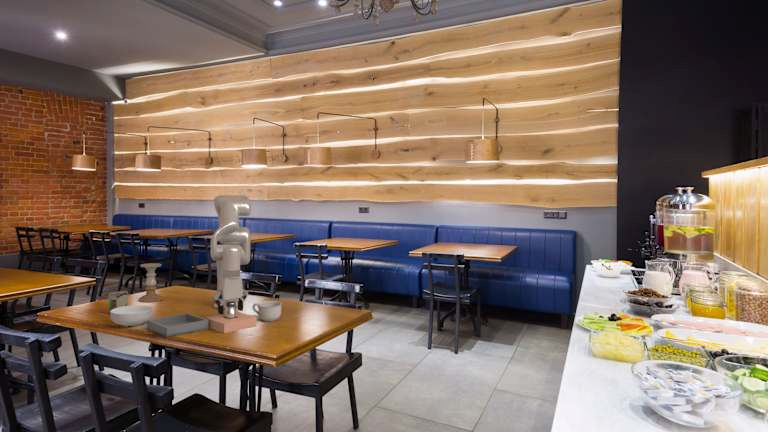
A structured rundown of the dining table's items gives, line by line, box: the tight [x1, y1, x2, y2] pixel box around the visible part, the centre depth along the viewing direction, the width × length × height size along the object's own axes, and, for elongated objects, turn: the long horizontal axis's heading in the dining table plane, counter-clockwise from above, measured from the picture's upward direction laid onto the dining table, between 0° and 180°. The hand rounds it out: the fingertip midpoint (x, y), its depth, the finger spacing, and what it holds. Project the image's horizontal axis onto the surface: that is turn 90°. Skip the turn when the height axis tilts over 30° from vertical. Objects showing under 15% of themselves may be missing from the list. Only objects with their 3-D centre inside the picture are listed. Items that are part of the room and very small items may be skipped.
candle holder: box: [138, 262, 164, 303], centre depth 251 cm, size 12×12×20 cm
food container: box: [107, 290, 129, 312], centre depth 220 cm, size 12×6×10 cm, turn 5°
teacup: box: [251, 300, 282, 322], centre depth 214 cm, size 14×11×8 cm
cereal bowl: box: [109, 304, 154, 328], centre depth 201 cm, size 17×17×7 cm
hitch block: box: [204, 310, 258, 334], centre depth 201 cm, size 16×16×4 cm
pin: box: [225, 301, 237, 319], centre depth 201 cm, size 4×4×11 cm
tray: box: [146, 312, 209, 339], centre depth 195 cm, size 18×18×4 cm
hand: (230, 312), depth 201 cm, fingers open, 9 cm apart
